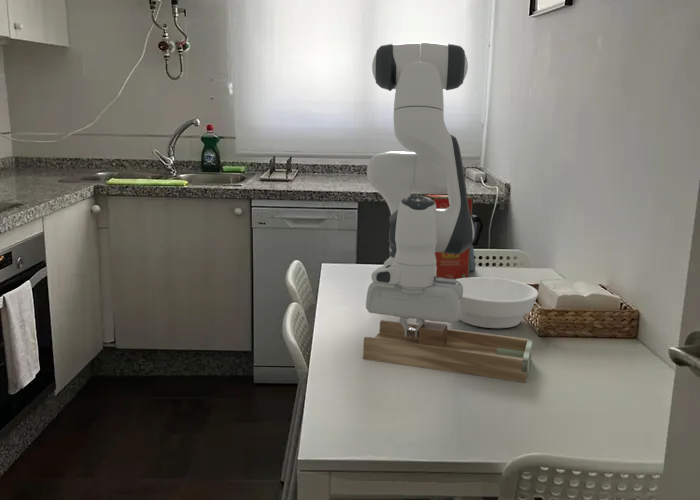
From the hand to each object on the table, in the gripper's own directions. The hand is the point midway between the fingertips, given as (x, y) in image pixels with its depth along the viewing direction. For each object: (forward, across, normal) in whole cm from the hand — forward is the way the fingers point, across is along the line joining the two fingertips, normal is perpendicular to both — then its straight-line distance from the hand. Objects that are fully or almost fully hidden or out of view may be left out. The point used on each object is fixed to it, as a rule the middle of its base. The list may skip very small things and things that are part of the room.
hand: (411, 336), depth 151 cm
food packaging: (+3, +6, -62) cm, 63 cm away
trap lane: (+3, -8, +2) cm, 9 cm away
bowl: (+3, -13, -28) cm, 31 cm away
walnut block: (+1, -5, 0) cm, 5 cm away
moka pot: (+3, +3, -78) cm, 78 cm away
